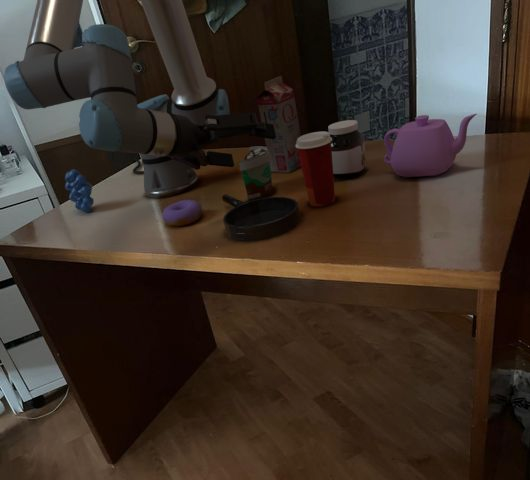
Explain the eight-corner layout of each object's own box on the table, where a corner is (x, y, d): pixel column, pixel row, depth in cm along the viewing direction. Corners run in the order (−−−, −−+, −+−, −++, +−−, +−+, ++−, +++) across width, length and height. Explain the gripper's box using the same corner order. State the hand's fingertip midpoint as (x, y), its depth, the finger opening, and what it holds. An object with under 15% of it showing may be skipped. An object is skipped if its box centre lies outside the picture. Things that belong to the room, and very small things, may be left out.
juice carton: (304, 163, 143) (291, 74, 131) (289, 172, 140) (273, 81, 128) (286, 163, 148) (271, 76, 135) (271, 171, 144) (254, 83, 132)
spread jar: (354, 181, 123) (349, 129, 117) (311, 182, 129) (304, 132, 123) (373, 164, 131) (369, 114, 125) (332, 165, 137) (326, 118, 131)
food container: (272, 200, 124) (264, 157, 118) (247, 204, 125) (238, 161, 120) (281, 183, 134) (274, 142, 128) (258, 186, 135) (249, 146, 130)
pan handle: (220, 203, 127) (218, 195, 126) (230, 199, 128) (228, 191, 127) (240, 214, 118) (238, 205, 117) (251, 210, 119) (250, 201, 117)
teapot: (377, 183, 119) (372, 129, 113) (392, 163, 129) (389, 112, 122) (471, 179, 110) (472, 119, 104) (480, 158, 119) (482, 102, 113)
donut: (156, 222, 126) (153, 202, 124) (190, 216, 131) (188, 196, 129) (175, 230, 119) (173, 209, 117) (210, 223, 124) (209, 202, 122)
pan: (215, 228, 117) (211, 215, 115) (277, 204, 121) (275, 191, 119) (246, 248, 104) (243, 233, 102) (314, 220, 109) (312, 206, 107)
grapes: (111, 208, 146) (94, 164, 139) (90, 217, 142) (72, 173, 136) (90, 204, 153) (73, 162, 147) (69, 213, 150) (52, 171, 143)
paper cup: (345, 195, 117) (337, 129, 109) (330, 208, 112) (320, 141, 104) (314, 195, 121) (304, 131, 114) (298, 208, 116) (287, 143, 109)
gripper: (138, 181, 106) (220, 187, 120) (210, 122, 88) (297, 137, 102) (130, 145, 106) (213, 155, 120) (200, 78, 88) (288, 99, 102)
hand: (252, 146), depth 111 cm, fingers open, 13 cm apart
